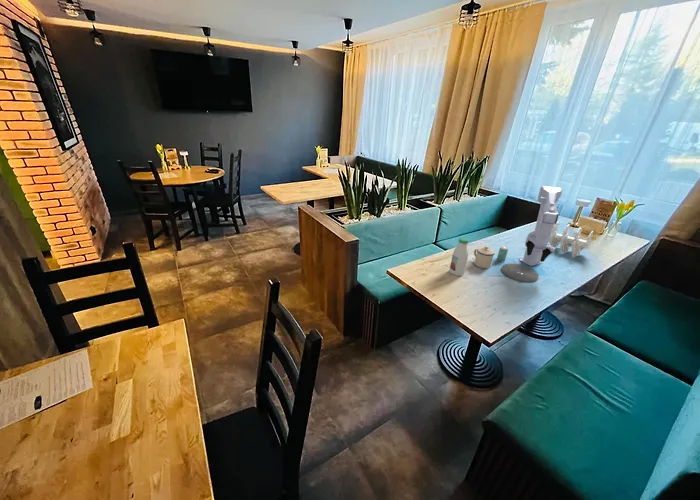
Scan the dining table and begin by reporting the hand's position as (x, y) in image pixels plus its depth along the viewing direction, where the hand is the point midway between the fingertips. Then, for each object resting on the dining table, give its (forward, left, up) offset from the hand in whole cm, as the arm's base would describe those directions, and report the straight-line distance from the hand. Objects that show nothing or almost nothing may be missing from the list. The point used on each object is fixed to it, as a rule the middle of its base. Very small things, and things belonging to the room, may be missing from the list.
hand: (535, 258), depth 155 cm
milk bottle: (+38, -15, -10) cm, 42 cm away
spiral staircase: (-43, -12, -10) cm, 46 cm away
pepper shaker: (+3, -17, -9) cm, 20 cm away
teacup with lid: (+18, -18, -10) cm, 27 cm away
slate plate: (+6, -2, -9) cm, 11 cm away
